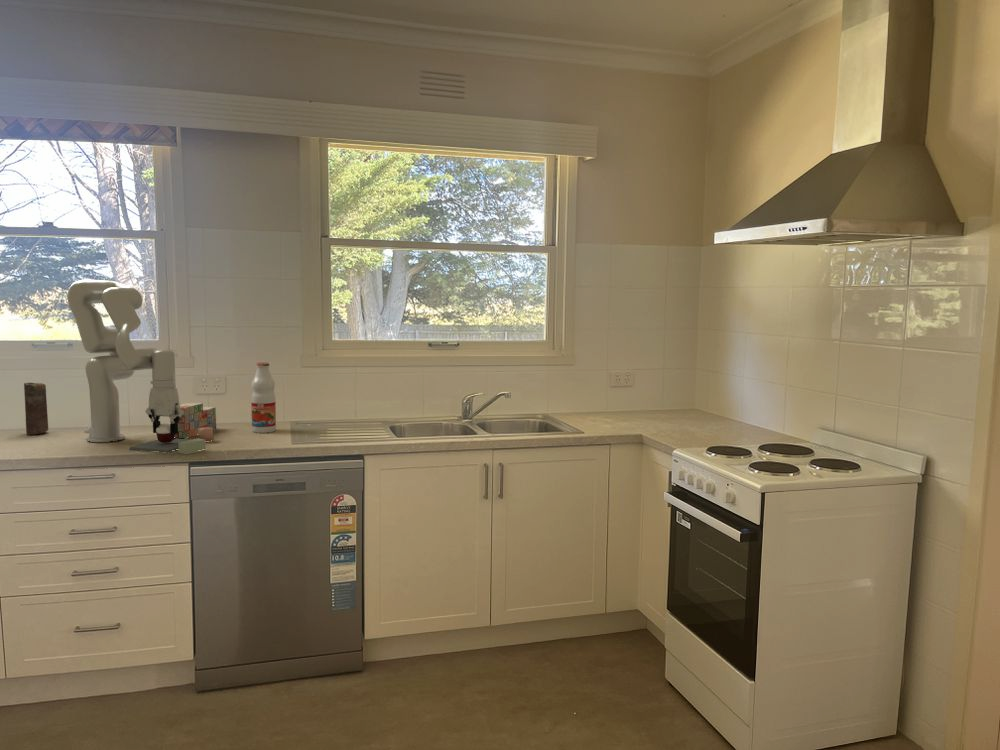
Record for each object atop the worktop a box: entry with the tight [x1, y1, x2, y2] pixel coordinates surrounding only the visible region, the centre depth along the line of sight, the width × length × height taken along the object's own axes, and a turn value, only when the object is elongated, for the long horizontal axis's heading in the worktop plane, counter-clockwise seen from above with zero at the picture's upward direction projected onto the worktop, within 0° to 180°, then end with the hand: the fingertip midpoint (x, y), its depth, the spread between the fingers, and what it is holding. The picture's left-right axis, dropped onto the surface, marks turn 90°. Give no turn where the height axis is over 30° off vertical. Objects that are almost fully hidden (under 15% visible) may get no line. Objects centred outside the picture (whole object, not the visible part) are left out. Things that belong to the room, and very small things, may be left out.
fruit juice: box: [250, 362, 277, 434], centre depth 297 cm, size 9×9×28 cm
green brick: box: [178, 437, 207, 455], centre depth 259 cm, size 4×8×4 cm, turn 149°
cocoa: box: [150, 409, 179, 443], centre depth 265 cm, size 10×6×12 cm, turn 97°
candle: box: [23, 382, 49, 436], centre depth 284 cm, size 8×7×20 cm
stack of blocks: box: [169, 402, 217, 439], centre depth 291 cm, size 21×6×12 cm, turn 170°
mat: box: [128, 438, 188, 454], centre depth 266 cm, size 16×18×1 cm
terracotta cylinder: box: [197, 427, 214, 441], centre depth 277 cm, size 5×5×5 cm
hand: (165, 432), depth 266 cm, fingers closed on cocoa, 6 cm apart
